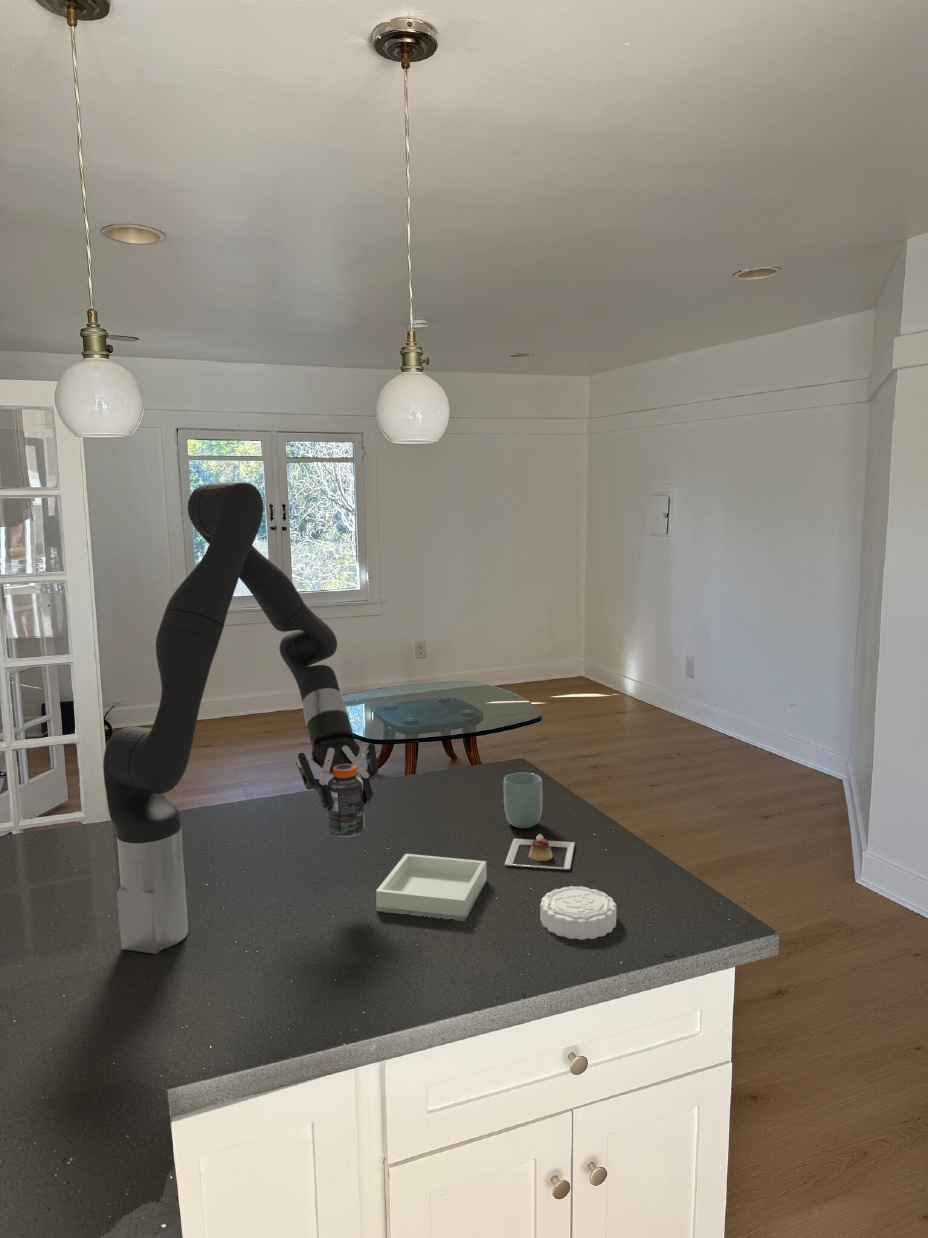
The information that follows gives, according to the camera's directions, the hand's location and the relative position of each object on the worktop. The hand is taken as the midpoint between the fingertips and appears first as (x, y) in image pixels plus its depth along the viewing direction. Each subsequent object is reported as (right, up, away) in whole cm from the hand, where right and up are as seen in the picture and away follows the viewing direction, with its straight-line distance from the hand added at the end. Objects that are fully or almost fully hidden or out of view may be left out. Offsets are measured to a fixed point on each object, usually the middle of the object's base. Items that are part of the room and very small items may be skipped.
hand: (349, 805), depth 138 cm
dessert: (+34, -14, +18) cm, 41 cm away
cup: (+31, -12, +33) cm, 47 cm away
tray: (+14, -16, +3) cm, 21 cm away
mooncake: (+37, -17, -6) cm, 42 cm away
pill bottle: (-1, -5, +2) cm, 6 cm away
